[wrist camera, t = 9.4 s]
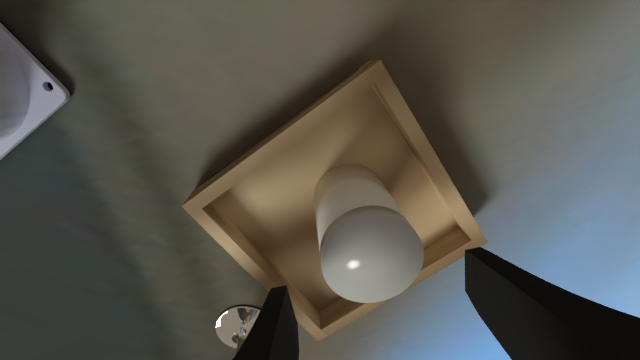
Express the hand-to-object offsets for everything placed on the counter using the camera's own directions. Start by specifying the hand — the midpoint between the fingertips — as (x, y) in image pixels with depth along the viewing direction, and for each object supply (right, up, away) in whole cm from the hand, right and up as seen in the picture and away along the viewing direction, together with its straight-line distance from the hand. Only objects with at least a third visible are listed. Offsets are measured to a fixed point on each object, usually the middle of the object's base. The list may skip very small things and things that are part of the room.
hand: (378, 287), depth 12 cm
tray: (-1, +2, +9) cm, 9 cm away
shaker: (0, +3, +8) cm, 9 cm away
